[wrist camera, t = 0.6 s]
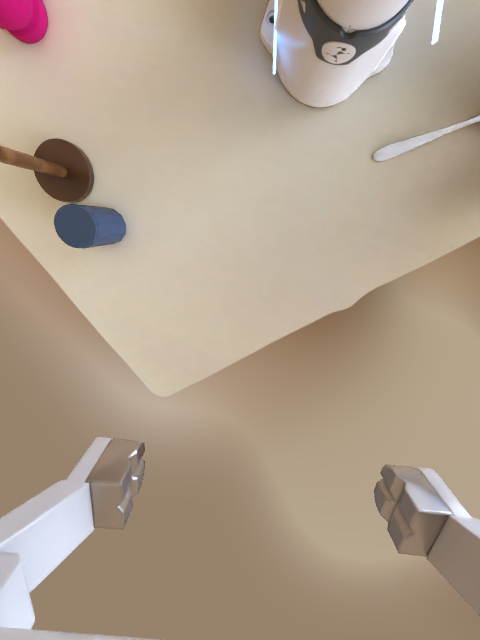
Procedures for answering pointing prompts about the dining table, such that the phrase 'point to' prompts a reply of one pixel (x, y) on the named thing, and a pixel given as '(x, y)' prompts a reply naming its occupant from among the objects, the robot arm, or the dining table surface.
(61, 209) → the blue cylinder
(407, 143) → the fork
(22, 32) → the pepper mill
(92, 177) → the peg stand
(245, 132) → the dining table surface
